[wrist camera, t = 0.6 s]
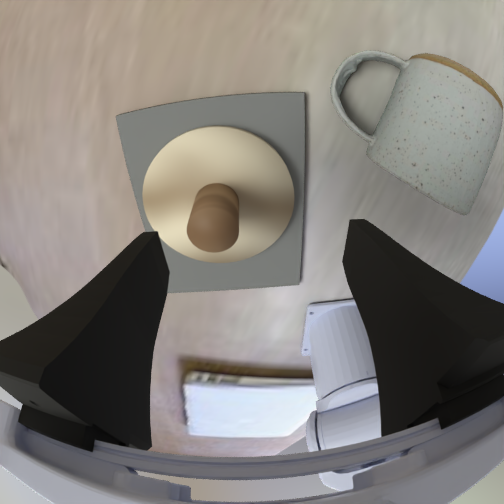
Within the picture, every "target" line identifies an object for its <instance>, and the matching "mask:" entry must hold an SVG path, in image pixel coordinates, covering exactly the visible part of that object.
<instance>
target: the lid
mask: <svg viewBox="0 0 504 504" xmlns="http://www.w3.org/2000/svg"><path fill="white" fill-rule="evenodd" d="M142 195H143V205H144V210H145V213H146V216H147V218H148V221H149V223H150V224H151V226H152V228H153V229H154V231H158V234H159V237H160V238H161V239H162V240H163V241H164V242H165V243H166V244H167V245H168V246H170V247H171V248H173V249H174V250H176V251H177V252H179V253H181V254H183V255H185V256H187V257H190V258H193V259H196V260H199V261H204V262H211V263H229V262H236V261H240V260H244V259H247V258H250V257H253V256H255V255H257V254H259V253H261V252H262V251H264V250H265V249H267V248H268V247H269V246H271V245H272V244H273V243H274V242H275V241H276V240H277V239H278V238H279V237H280V236H281V234H282V233H283V232H284V230H285V229H286V227H287V225H288V223H289V221H290V218H291V216H292V212H293V208H294V187H293V182H292V179H291V176H290V173H289V171H288V168H287V166H286V164H285V163H284V161H283V159H282V158H281V156H280V155H279V154H278V152H277V151H276V150H275V149H274V148H273V147H272V146H271V145H270V144H269V143H268V142H266V141H265V140H263V139H262V138H261V137H259V136H257V135H255V134H253V133H251V132H249V131H246V130H244V129H241V128H237V127H232V126H224V125H212V126H204V127H199V128H195V129H192V130H189V131H187V132H185V133H183V134H181V135H179V136H177V137H176V138H174V139H173V140H171V141H170V142H169V143H168V144H166V145H165V146H164V147H163V148H162V149H161V151H160V152H159V153H158V154H157V155H156V157H155V158H154V159H153V161H152V163H151V164H150V166H149V168H148V170H147V173H146V175H145V179H144V184H143V193H142Z"/></svg>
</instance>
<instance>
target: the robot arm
mask: <svg viewBox="0 0 504 504" xmlns="http://www.w3.org/2000/svg"><path fill="white" fill-rule="evenodd" d="M342 262H343V266H344V270H345V274H346V278H347V282H348V285H349V287H350V290H351V293H352V295H353V298H354V299H353V300H344V301H336V302H327V303H317V304H310V305H309V306H308V307H307V312H306V320H305V328H304V335H303V342H302V349H301V355H302V356H308V355H310V360H311V365H312V371H313V376H314V382H315V388H316V394H317V397H318V399H319V400H318V401H316V407H317V410H315V411H313V412H312V413H311V414H310V417H309V418H308V420H307V423H306V439H307V445H308V450H309V452H305V453H298V454H288V455H278V456H261V457H203V456H188V455H177V454H168V453H160V452H153V451H147V450H148V449H150V448H151V447H152V441H151V427H150V384H151V369H152V359H153V351H154V345H155V340H156V336H157V332H158V328H159V324H160V320H161V316H162V312H163V308H164V304H165V300H166V296H167V291H168V283H169V275H170V271H169V268H168V264H167V261H166V258H165V254H164V251H163V248H162V244H161V241H160V237H159V234H158V231H152V232H143V233H142V234H140V235H139V236H138V237H137V238H136V239H134V240H133V241H132V242H131V243H130V244H129V245H128V246H127V247H126V248H125V249H124V250H123V251H122V252H121V253H120V254H119V255H118V256H117V257H116V258H115V259H114V260H112V261H111V262H110V263H109V264H108V265H107V266H106V267H105V268H104V269H103V270H102V271H101V272H100V273H99V274H97V275H96V276H95V277H94V278H93V279H92V280H91V281H90V282H89V283H88V284H86V285H85V286H84V287H83V288H82V289H81V290H79V291H78V292H77V293H76V294H74V295H73V296H72V297H71V298H69V299H68V300H67V301H65V302H64V303H63V304H61V305H60V306H58V307H57V308H56V309H54V310H53V311H51V312H50V313H49V314H47V315H46V316H44V317H43V318H41V319H39V320H38V321H36V322H35V323H33V324H31V325H30V326H28V327H26V328H24V329H23V330H21V331H19V332H17V333H15V334H13V335H11V336H9V337H7V338H5V339H3V340H1V341H0V386H1V387H2V388H3V389H4V390H5V391H7V392H8V393H9V394H10V395H12V396H13V397H14V398H15V399H17V400H18V401H19V402H21V403H22V404H23V405H22V409H21V410H20V409H18V408H16V407H14V406H12V405H10V404H8V403H6V402H4V401H2V400H0V466H1V467H2V468H4V469H5V470H6V471H8V472H9V473H10V474H12V475H13V476H14V477H15V478H17V479H18V480H19V481H21V482H22V483H23V484H25V485H26V486H28V487H29V488H30V489H31V490H33V491H34V492H36V493H37V494H39V495H40V496H41V497H43V498H44V499H46V500H48V501H49V502H51V503H52V504H449V503H450V502H452V501H453V500H455V499H456V498H458V497H459V496H461V495H462V494H463V493H465V492H466V491H468V490H469V489H470V488H472V487H473V486H474V485H475V484H477V483H478V482H479V481H480V480H482V479H483V478H484V477H485V476H487V475H488V474H489V473H490V472H491V471H492V470H493V469H495V468H496V467H497V466H498V465H499V464H500V463H501V462H502V461H503V460H504V375H503V374H504V304H503V303H500V302H498V301H495V300H493V299H490V298H488V297H486V296H484V295H481V294H479V293H477V292H475V291H473V290H471V289H469V288H467V287H465V286H463V285H461V284H460V283H458V282H456V281H454V280H452V279H451V278H449V277H447V276H445V275H444V274H442V273H441V272H439V271H437V270H436V269H434V268H433V267H431V266H430V265H428V264H427V263H425V262H424V261H422V260H421V259H419V258H418V257H417V256H415V255H414V254H412V253H411V252H410V251H408V250H407V249H405V248H404V247H403V246H401V245H400V244H399V243H397V242H396V241H395V240H393V239H392V238H391V237H389V236H388V235H387V234H385V233H384V232H383V231H381V230H380V229H379V228H377V227H376V226H374V225H373V224H371V223H370V222H368V221H367V220H365V219H352V220H350V221H349V227H348V233H347V239H346V245H345V250H344V255H343V261H342ZM135 470H138V471H144V472H149V473H155V474H161V475H168V476H176V477H185V478H196V479H213V480H215V479H216V480H260V479H274V478H275V479H276V478H287V477H296V476H305V475H312V474H319V477H320V479H321V480H322V483H323V484H324V485H325V486H327V487H330V488H332V489H335V490H338V491H340V492H335V493H330V494H325V495H319V496H312V497H305V498H297V499H289V500H277V501H260V502H217V501H201V500H192V499H191V497H190V496H191V488H190V487H189V486H185V485H179V484H174V483H170V482H169V481H165V480H159V479H154V478H149V477H144V476H140V475H138V473H137V472H136V471H135Z"/></svg>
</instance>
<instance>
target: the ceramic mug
mask: <svg viewBox="0 0 504 504" xmlns="http://www.w3.org/2000/svg"><path fill="white" fill-rule="evenodd" d="M367 60H377V61H383V62H386V63H389V64H392V65H394V66H396V67H398V68H399V69H400V70H401V72H400V74H399V77H398V79H397V81H396V83H395V87H394V89H393V91H392V95H391V98H390V100H389V102H388V104H387V106H386V108H385V111H384V113H383V115H382V117H381V119H380V121H379V124H378V125H377V128H376V130H375V132H374V134H373V135H369V134H367V133H365V132H364V131H363V130H361V129H360V128H359V127H357V126H356V125H355V124H354V123H353V122H352V121H351V120H350V119H349V117H348V116H347V115H346V113H345V111H344V109H343V107H342V103H341V101H340V93H341V91H342V89H343V87H344V85H345V83H346V81H347V79H348V77H349V76H350V75H351V73H353V72H355V71H356V69H357V65H358V64H359V63H360V62H361V61H367ZM330 93H331V99H332V103H333V105H334V107H335V110H336V112H337V113H338V115H339V117H340V118H341V119H342V120H343V122H344V123H345V124H346V125H347V126H348V127H349V128H350V129H351V130H352V131H353V132H355V133H356V134H357V135H358V136H360V137H361V138H363V139H364V140H366V141H367V142H368V143H369V146H368V149H367V155H368V157H369V158H370V159H371V160H372V161H373V162H374V163H376V164H377V165H379V166H380V167H381V168H383V169H384V170H386V171H387V172H389V173H391V174H392V175H394V176H395V177H397V178H398V179H400V180H402V181H403V182H405V183H406V184H408V185H410V186H411V187H413V188H414V189H416V190H418V191H420V192H421V193H423V194H425V195H426V196H428V197H429V198H431V199H433V200H435V201H436V202H438V203H439V204H441V205H443V206H445V207H447V208H449V209H450V210H452V211H454V212H457V213H459V214H461V215H467V214H468V213H469V212H470V210H471V207H472V205H473V203H474V201H475V199H476V196H477V194H478V192H479V189H480V187H481V185H482V182H483V180H484V178H485V175H486V173H487V170H488V167H489V164H490V161H491V158H492V156H493V153H494V150H495V147H496V144H497V141H498V138H499V135H500V131H501V126H502V118H503V106H502V102H501V100H500V98H499V96H498V95H497V93H496V92H495V91H494V89H493V88H492V87H491V86H490V85H489V84H488V83H487V82H486V81H485V80H484V79H482V78H481V77H480V76H478V75H477V74H476V73H474V72H473V71H471V70H470V69H468V68H466V67H464V66H463V65H461V64H459V63H457V62H455V61H453V60H450V59H448V58H445V57H442V56H439V55H434V54H428V53H425V54H418V55H414V56H412V57H411V58H410V59H409V60H408V61H404V60H402V59H401V58H399V57H397V56H394V55H392V54H388V53H385V52H382V51H371V50H369V51H363V52H359V53H355V54H353V55H351V56H350V57H348V58H347V59H345V60H344V61H343V62H342V63H341V65H340V66H339V68H338V69H337V70H336V72H335V75H334V77H333V79H332V83H331V87H330Z"/></svg>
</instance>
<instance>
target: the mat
mask: <svg viewBox="0 0 504 504" xmlns="http://www.w3.org/2000/svg"><path fill="white" fill-rule="evenodd" d="M116 120H117V125H118V130H119V135H120V139H121V144H122V148H123V152H124V157H125V161H126V165H127V169H128V173H129V176H130V180H131V184H132V188H133V191H134V195H135V198H136V202H137V205H138V209H139V212H140V215H141V219H142V222H143V225H144V228H145V231H146V232H152V231H154V229H153V228H152V226H151V224H150V223H149V221H148V218H147V216H146V213H145V210H144V205H143V195H142V193H143V184H144V179H145V175H146V173H147V170H148V168H149V166H150V164H151V163H152V161H153V159H154V158H155V157H156V155H157V154H158V153H159V152H160V151H161V149H162V148H163V147H164V146H165V145H166V144H168V143H169V142H170V141H171V140H173V139H174V138H176V137H177V136H179V135H181V134H183V133H185V132H187V131H189V130H192V129H195V128H199V127H204V126H212V125H224V126H232V127H237V128H241V129H244V130H246V131H249V132H251V133H253V134H255V135H257V136H259V137H261V138H262V139H263V140H265V141H266V142H268V143H269V144H270V145H271V146H272V147H273V148H274V149H275V150H276V151H277V152H278V154H279V155H280V156H281V158H282V159H283V161H284V163H285V164H286V166H287V168H288V171H289V173H290V176H291V179H292V182H293V187H294V208H293V212H292V216H291V218H290V221H289V223H288V225H287V227H286V229H285V230H284V232H283V233H282V234H281V236H280V237H279V238H278V239H277V240H276V241H275V242H274V243H273V244H272V245H271V246H269V247H268V248H267V249H265V250H264V251H262V252H261V253H259V254H257V255H255V256H253V257H250V258H247V259H244V260H240V261H236V262H229V263H211V262H204V261H199V260H196V259H193V258H190V257H187V256H185V255H183V254H181V253H179V252H177V251H176V250H174V249H173V248H171V247H170V246H168V245H167V244H166V243H165V242H164V241H163V240H162V239H161V238H160V241H161V244H162V248H163V251H164V254H165V258H166V261H167V264H168V268H169V271H170V275H169V283H168V291H167V293H181V292H202V291H220V290H237V289H252V288H265V287H279V286H291V285H299V282H300V267H301V250H302V230H303V206H304V167H305V103H304V92H271V93H251V94H237V95H226V96H217V97H208V98H201V99H194V100H187V101H181V102H175V103H170V104H164V105H159V106H154V107H149V108H145V109H140V110H136V111H132V112H128V113H124V114H120V115H117V116H116Z"/></svg>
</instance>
